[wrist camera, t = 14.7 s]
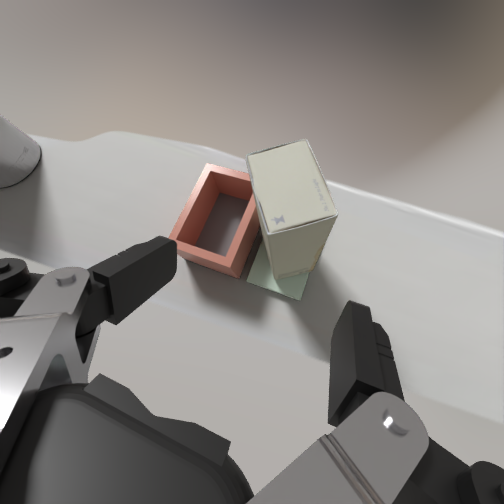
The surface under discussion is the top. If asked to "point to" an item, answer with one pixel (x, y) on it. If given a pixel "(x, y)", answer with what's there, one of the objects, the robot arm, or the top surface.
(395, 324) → the top surface
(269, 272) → the pad
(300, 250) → the skincare box
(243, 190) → the bin
